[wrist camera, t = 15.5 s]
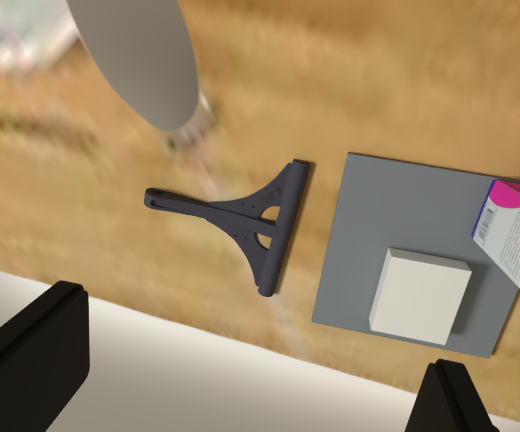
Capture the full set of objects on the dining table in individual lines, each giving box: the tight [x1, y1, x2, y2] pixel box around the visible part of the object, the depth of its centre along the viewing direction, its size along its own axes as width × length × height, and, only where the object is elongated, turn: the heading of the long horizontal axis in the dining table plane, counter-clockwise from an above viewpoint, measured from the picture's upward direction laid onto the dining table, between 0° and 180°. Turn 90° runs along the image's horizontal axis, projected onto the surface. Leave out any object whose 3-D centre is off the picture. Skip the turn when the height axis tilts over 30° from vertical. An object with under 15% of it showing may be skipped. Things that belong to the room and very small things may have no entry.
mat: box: [312, 152, 520, 358], centre depth 39 cm, size 18×18×1 cm
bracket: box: [144, 159, 310, 297], centre depth 40 cm, size 14×15×3 cm
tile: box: [369, 248, 472, 345], centre depth 38 cm, size 2×7×8 cm
